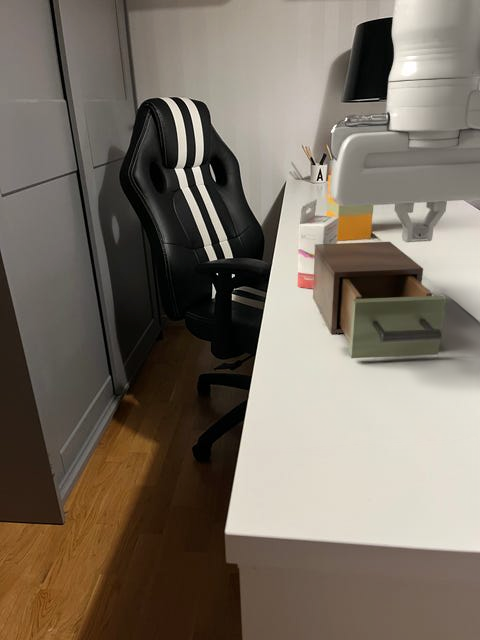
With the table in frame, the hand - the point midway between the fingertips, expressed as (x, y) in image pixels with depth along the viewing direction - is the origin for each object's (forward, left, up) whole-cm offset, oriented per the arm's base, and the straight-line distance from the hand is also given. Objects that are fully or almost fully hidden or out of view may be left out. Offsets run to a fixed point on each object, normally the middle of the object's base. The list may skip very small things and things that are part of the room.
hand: (416, 240), depth 58 cm
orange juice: (-9, -65, -17) cm, 68 cm away
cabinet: (+1, -17, -17) cm, 24 cm away
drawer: (+1, -5, -16) cm, 16 cm away
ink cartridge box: (+5, -33, -17) cm, 37 cm away
